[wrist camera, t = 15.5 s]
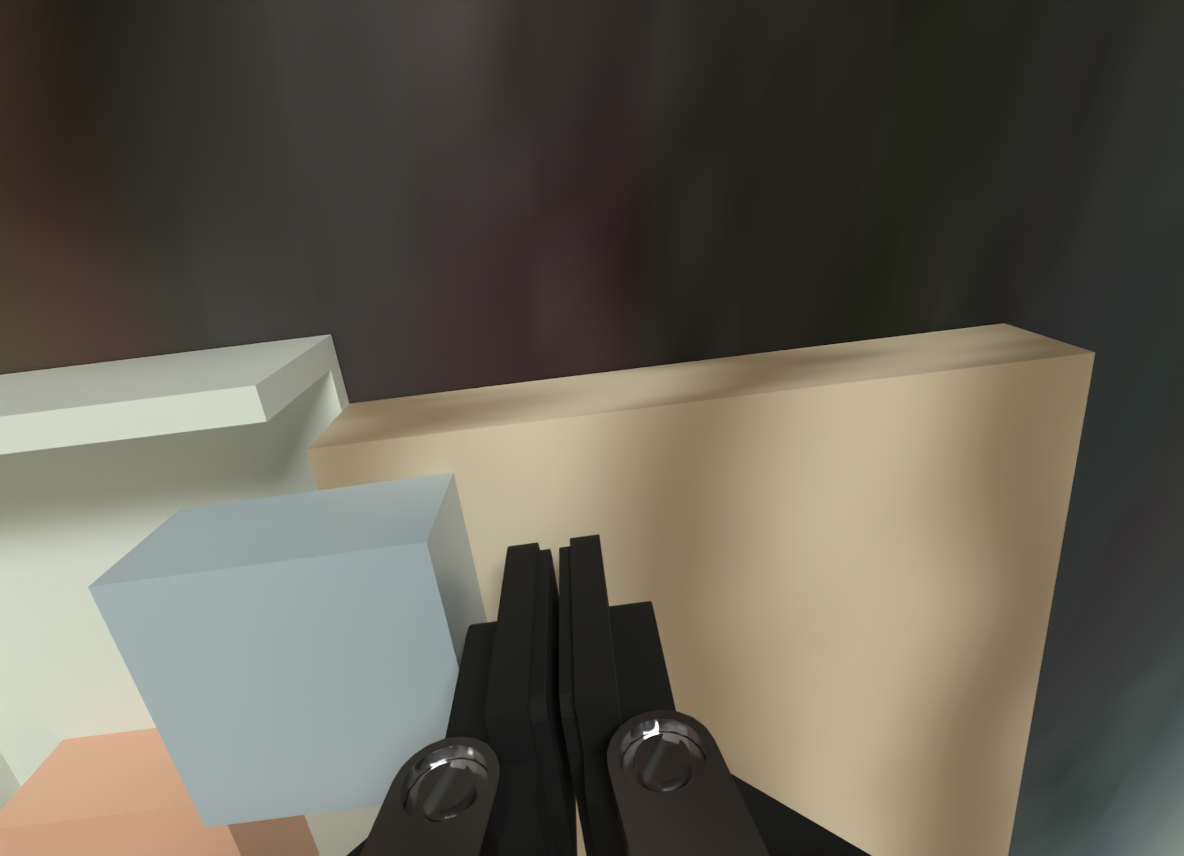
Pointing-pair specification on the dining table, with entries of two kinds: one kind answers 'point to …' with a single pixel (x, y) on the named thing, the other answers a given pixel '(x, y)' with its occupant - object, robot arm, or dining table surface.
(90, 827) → the terracotta tile
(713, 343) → the dining table surface
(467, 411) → the birch board
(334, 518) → the slate tile
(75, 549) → the tray
